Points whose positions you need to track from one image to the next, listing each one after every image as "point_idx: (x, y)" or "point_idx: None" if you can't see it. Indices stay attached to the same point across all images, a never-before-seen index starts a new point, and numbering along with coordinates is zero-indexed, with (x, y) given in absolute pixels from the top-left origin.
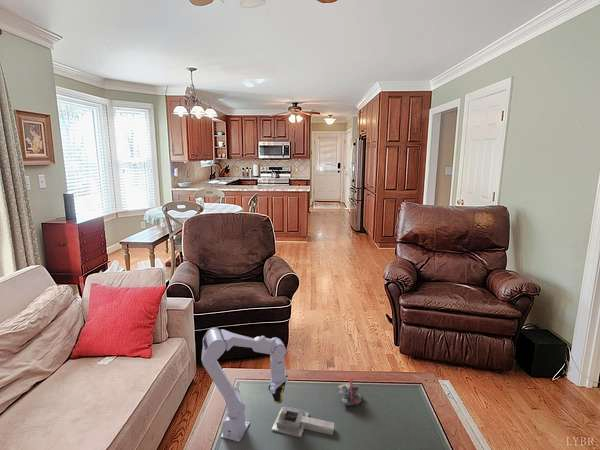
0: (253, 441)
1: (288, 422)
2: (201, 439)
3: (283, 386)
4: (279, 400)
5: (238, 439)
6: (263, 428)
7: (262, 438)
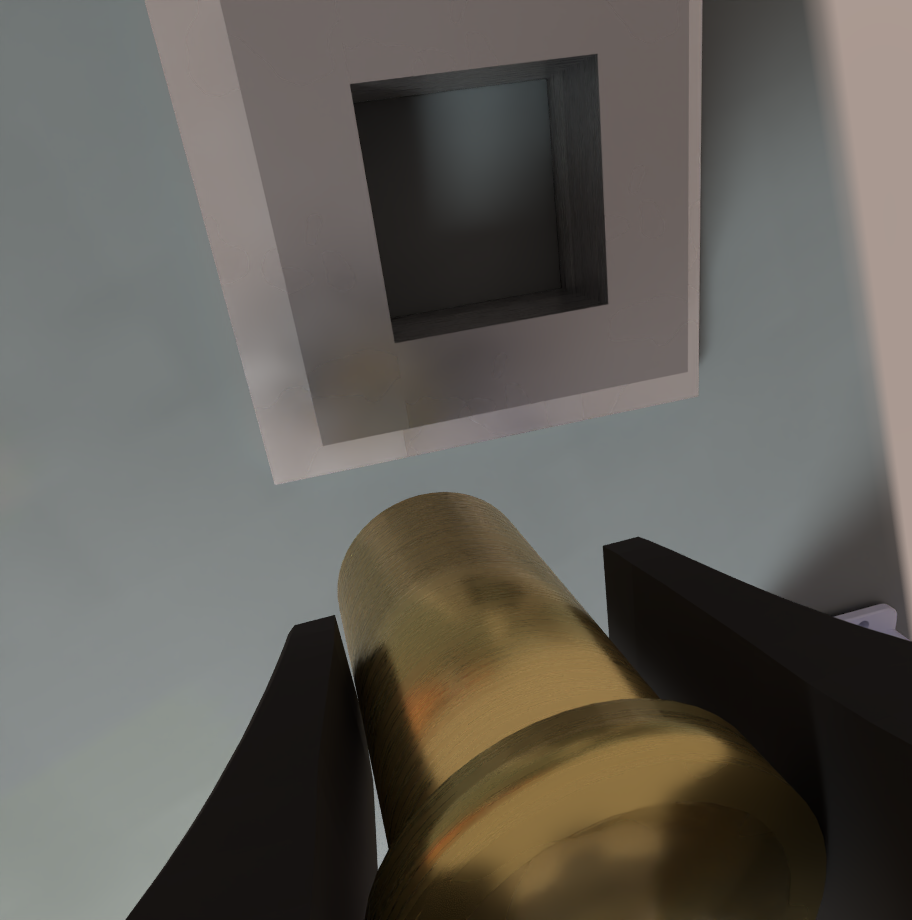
0: (855, 489)
1: (634, 180)
2: None
3: (538, 822)
4: (657, 544)
5: (884, 623)
6: (674, 497)
7: (804, 426)
